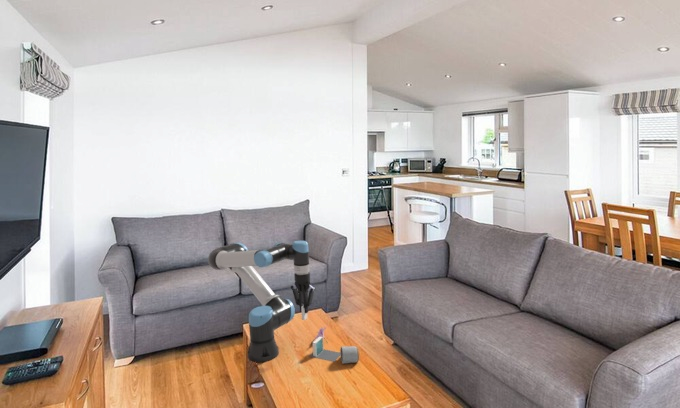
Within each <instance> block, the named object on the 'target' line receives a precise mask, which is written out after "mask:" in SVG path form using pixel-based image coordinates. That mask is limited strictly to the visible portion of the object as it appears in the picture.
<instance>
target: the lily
mask: <svg viewBox="0 0 680 408" xmlns="http://www.w3.org/2000/svg"><path fill="white" fill-rule="evenodd" d="M326 328H327V326H324V327H321V328H320V329H319V330H318V331H317V335H316V336H315V337H314V338H313V340H311V344H313V342H314V341H315V340H316V339H317V338H318V337H323V340H324V341H325V342H326V343H327V344H328V340H327V338H325V334H324V333H325V330H326Z"/></svg>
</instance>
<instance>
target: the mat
mask: <svg viewBox="0 0 680 408" xmlns="http://www.w3.org/2000/svg"><path fill="white" fill-rule="evenodd" d="M308 357H309V358H310V357H311V358H314V359H320V360H324V361H329V362H334V363H335V362H336V361H337V360H338V359H339V358H340V357H341V354H340V352H339V351H335V350H334V351H333V350H329V349H324V348H323V351H322V352H321V353H320V354H319V355H318V356H317V357H315V356H313V352H312V353H310V354H309V355H308Z"/></svg>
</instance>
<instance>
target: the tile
mask: <svg viewBox="0 0 680 408" xmlns="http://www.w3.org/2000/svg"><path fill="white" fill-rule="evenodd" d="M323 349H324V338H323V337H318V338H316V339H315V340H314V341H313V342H312V353H313V356H315V357H317V356H318V355H319V354H320V353H321V352H322V351H323Z"/></svg>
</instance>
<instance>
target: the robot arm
mask: <svg viewBox="0 0 680 408" xmlns="http://www.w3.org/2000/svg"><path fill="white" fill-rule="evenodd" d="M309 254H310V249H309V243H308V242H307V241H306V240H295V241H293V242H292V244H291V243H285V242H278V243H275V244H274V245H273V246H272V247H270V248H266V249H256V250H254V249H253V250H249V248H248V247H247V246H246V245H245V244H243V243H241V242H236V243H235V242H233V243H231V244H230V243H229V244H228V245H223V246H220V247H216V248H215V249H213V250H212V251H210V253H209V255H208V257H207V258H208V259H207V260H208V261H207V263H208V265H209V266H210V267H211V268H212V269H214V270H215V271H221V270H227V269H228V268H229V270H230V271H231V272H232V273H236V274H237V275H238V276H239V277H240V279H241V281H242V282H243V283H244V284H245V286H246V287H247V288H248V289H249V290H250V292H251V293H252V294H253V296H255V298H256V299H257V300H258V302H259V303H260V304H261V306H257V307H254V308H253V309H251V310H250V312H249V314H248V326H249V327H248V328H249V340H250V342H249V345H248V350H247V358H248V360H249V361H251V362H252V363H260V364H261V363H266V362H270V361H273V360H274V359H276V358H277V357H278V356H279V353H280V351H279V349H280V348H279V347H278V345H277V342H276V338H275V330H278V329H279V328H281V327H282V326H284V325H286V324H288V323H289V322H291V321H292V320H293V319H294V317H295V314H296V311H295V305H294V304H293V302H292V301H291V300H290V299H289V298H288V299H287V298H283V297H282V296H281V294H275V292H274V291H273V289H272V288H271V287H270V286H269V285H268V283H267V282H266V281H265V279H263V277H262V276H261V275H260V273H259V272H258V271H257V270H256V269H255V267H258V268H265V267H269V266H271V265H273V264H276V263H278V262H279V263H280V262H282V261H284V260H288V261H289V260H290V261H293V272H294V275H293V276H294V283H293V284H292V285H291V286H290V289H291V290H292V294H293V298H294V300H295V301H294V302H295V304H296V305H297V306H299V312H300V313H301V320H302V321H305V320H306V319H308V313H309V307H310V306H312V303H313V299H314V291H315V290H316V287H315V286H312V283H311V273H310V272H311V269H310V255H309Z"/></svg>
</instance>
